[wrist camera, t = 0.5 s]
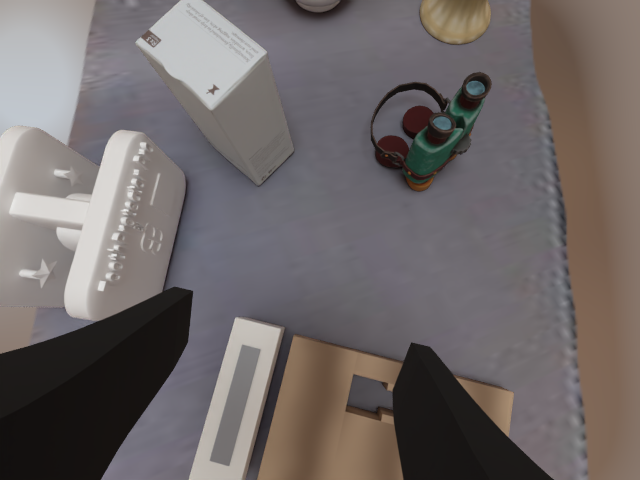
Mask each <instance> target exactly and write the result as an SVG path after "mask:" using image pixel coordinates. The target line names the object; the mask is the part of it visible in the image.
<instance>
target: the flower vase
mask: <svg viewBox="0 0 640 480" xmlns="http://www.w3.org/2000/svg"><path fill="white" fill-rule="evenodd" d="M295 1H296V2H297V3H298V5H300V6H301V7H302V8H303V9H306V10H308V11H311V12H324V11H328V10H330V9H332V8H334V7H335V6H336V5H337V4H339V2H340V0H295Z"/></svg>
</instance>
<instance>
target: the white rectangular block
mask: <svg viewBox="0 0 640 480" xmlns="http://www.w3.org/2000/svg"><path fill="white" fill-rule="evenodd" d="M284 329H285V327H282V326H278V325H274V324H270V323H266V322H262V321H258V320H254V319H251V318H247V317H236V318H235V321H234V325H233V328H232V331H231V335H230V338H229V342H228V345H227V349H226V352H225V356H224V359H223V363H222V366H221V370H220V373H219V376H218V380H217V383H216V387H215V390H214V394H213V397H212V401H211V404H210V408H209V411H208V415H207V418H206V422H205V425H204V428H203V432H202V435H201V439H200V442H199V446H198V449H197V453H196V456H195V460H194V463H193V467H192V470H191V473H190V477H189V480H245V479H246V475H247V471H248V468H249V464H250V460H251V456H252V452H253V448H254V445H255V441H256V437H257V433H258V429H259V425H260V421H261V418H262V414H263V410H264V406H265V402H266V398H267V394H268V391H269V387H270V383H271V379H272V375H273V371H274V368H275V364H276V360H277V356H278V352H279V348H280V344H281V341H282V337H283V333H284Z"/></svg>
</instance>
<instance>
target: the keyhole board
mask: <svg viewBox="0 0 640 480" xmlns="http://www.w3.org/2000/svg"><path fill="white" fill-rule="evenodd" d="M402 365H403V362H402V361H398V360H394V359H391V358H387V357H383V356H379V355H375V354H371V353H367V352H363V351H360V350H356V349H352V348H348V347H344V346H340V345H336V344H332V343H328V342H325V341H321V340H317V339H313V338H309V337H305V336H301V335H297V334H295V335H294V336H293V340H292V344H291V348H290V352H289V356H288V360H287V364H286V368H285V372H284V376H283V380H282V383H281V387H280V391H279V395H278V399H277V403H276V407H275V411H274V415H273V419H272V423H271V427H270V431H269V435H268V439H267V443H266V447H265V450H264V454H263V458H262V462H261V466H260V470H259V474H258V478H257V480H403V474H402V468H401V463H400V457H399V451H398V445H397V439H396V433H395V426H394V417H393V410H389V409H385V408H382V407H378V411H377V413H374V412H370V411H366V410H363V409H359V408H355V407H352V406H348V405H347V401H348V396H349V391H350V387H351V382H352V377H353V374H355V375H359V376H363V377H367V378H370V379H374V380H378V381H382V382H383V386H384V387H385V388H386V389H387V390H388V391H392V390H393V387H394V385H395V382H396V380H397V377H398V375H399V372H400V370H401V367H402ZM454 377H455V378H456V379H457V380H458V381H459V383H460V384H461V385H462V386H463V388H464V389H465V390H466V391H467V392H468V394H469V395H470V396H471V397H472V398H473V399H474V401H475V402H476V403H477V404H478V405H479V406H480V407H481V409H482V410H483V411H484V412H485V413H486V414H487V415H488V416H489V417H490V418H491V420H492V421H493V422H494V423H495V424H496V425H497V426H498V427H499V428H500V429H501V430H502V431H503V432H504V433H505V434H506V435H507V436H508V435H509V427H510V420H511V412H512V404H513V396H514V392H511V391H509V390H507V389H504V388H502V387H499V386H495V385H491V384H487V383H484V382H480V381H476V380H472V379H468V378H464V377H460V376H456V375H454ZM392 392H393V391H392Z"/></svg>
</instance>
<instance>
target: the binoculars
mask: <svg viewBox="0 0 640 480" xmlns="http://www.w3.org/2000/svg"><path fill="white" fill-rule="evenodd" d="M491 85H492V84H491V79H490V78H489V76H488V75H486V74H484V73H481V72H477V73H473V74H471V75H469V76H468V77H467V78H466V79H465V80H464V83H463V85H462V87H461V88H460V89H459V90H458V92H457V93H456V95H455V96H454V98H453V99H452V101H450V100H449V99H448V98H446V99H444V98H443V96H442V95H441V93H440V94H439V93H438V92H437V91H436V90H435V89H434V88H433V87H431V86H429V85H428V84H426V83H420V82H412V83H407V84H402V85H398V86H397V87H395V88H394V89H392V90H391V91H389V92H388V93H387V94H386V95H385V96H384V98H383V99H382V100H381V101H380V103H379V104H378V106H377V108H376V109H375V112H374V115H373V117H372V120H371V141H372V143H373V145H374V147H375V150H376V158H377V160H378V161H379V162H380V163H381V164H383V165H385V166H388V167H401V166H402V167H403V173H404V175H405V176H406V180H407V183H408V185H409V186H410V187H411V188H412V189H414V190H416V191H423V190H425V189H427V188H428V187H429V186H430V184H431V182H432V181H433V178H434V176H435V175H436V174H437V173H438V172H439V171H440V170H441V169H443V167H444V166H445V165H446V164H447V163H448V162H449V161H450V160H453V159H454V158H455V157H456V156H457V154H460V155H461V154H463V153H464V152H466V151H467V150H468V149H469V147H470V145H471V143H470V142H471V139H470V137H469V136H470V135H471V131H472V129H473V126H474V122H475V121H476V119H477V117H478V115H479V113H480V111H481V109H482V106H483V104H484V101H485V97H486V95H487V94H488V92H489V91H490V89H491ZM413 89H415V90H422V91H425V92H426V93H428V94H429V95H431V96H432V97H433V98H434V99H435V100H436V101H437V103H438V104H439V106H440V109H441V112H442V113H433V112H432V111H431V110H430V109H429V108H427V107H425V106H415V107H412V108H411V109H409V110H408V111H407V112H406V113H405V115H404V118H403V129H404V132H405V133H406V134H407V135H408V136H410V137H412V138H414V140H413V143H412V145H411V147H410V150H409V147H408V145H407V143H406V142H405V141H404V140H403V139H402V138H400V137H397V136H385V137H383V138H381V139H380V140H379V141H378V143H377V142H376V140H375V138H374V136H373V126H372V125H373V122H374V119H375V116H376V115H377V113H378V111H379V110H380V108H381V107H382V106H383V104H384V103H385V102H386V101H387V100H388V99H389V98H391V97H392V96H394V95H395V94H397V93H398V92H403V91H408V90H413ZM448 103H449V106H448V108H447V110H446V112H444V111H443V110H445V108H446V106H447V104H448Z"/></svg>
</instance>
